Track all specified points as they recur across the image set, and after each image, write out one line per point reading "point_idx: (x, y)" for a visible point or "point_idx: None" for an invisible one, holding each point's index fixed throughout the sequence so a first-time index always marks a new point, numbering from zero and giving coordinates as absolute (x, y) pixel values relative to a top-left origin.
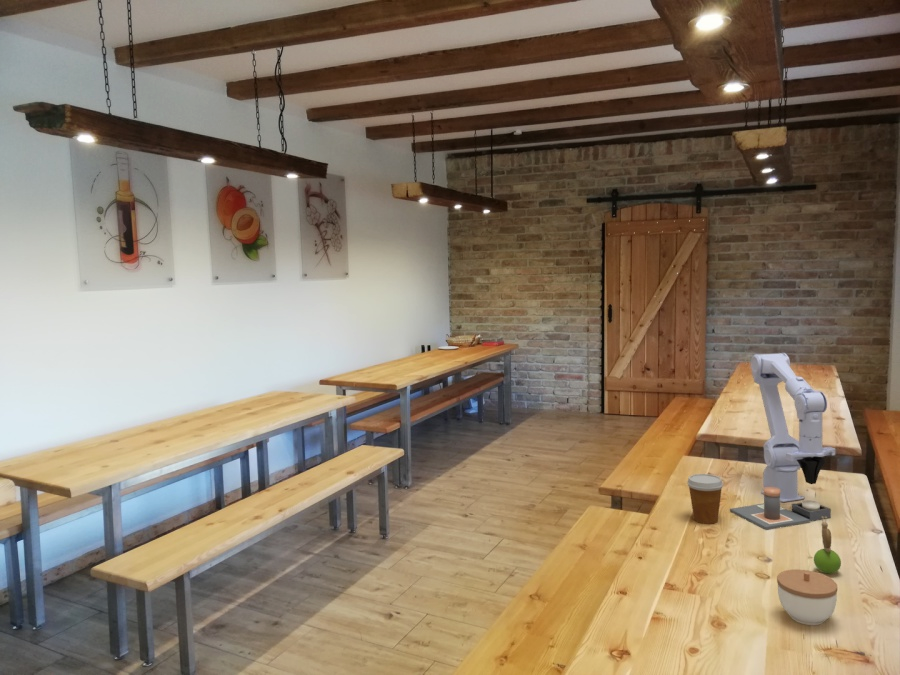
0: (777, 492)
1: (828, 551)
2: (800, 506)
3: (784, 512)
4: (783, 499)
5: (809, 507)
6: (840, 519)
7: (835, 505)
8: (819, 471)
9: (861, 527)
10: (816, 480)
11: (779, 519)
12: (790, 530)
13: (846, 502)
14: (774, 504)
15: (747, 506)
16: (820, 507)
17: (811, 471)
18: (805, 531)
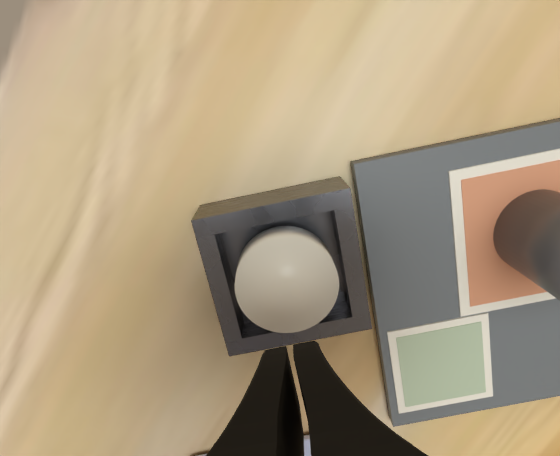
0: None
1: None
2: None
3: (418, 289)
4: (305, 454)
5: (320, 243)
6: (158, 177)
7: (80, 364)
8: (226, 431)
9: (103, 33)
10: (262, 362)
11: (520, 190)
12: (527, 68)
13: (3, 392)
14: None
15: (541, 394)
16: (225, 272)
17: (363, 417)
18: (457, 35)
